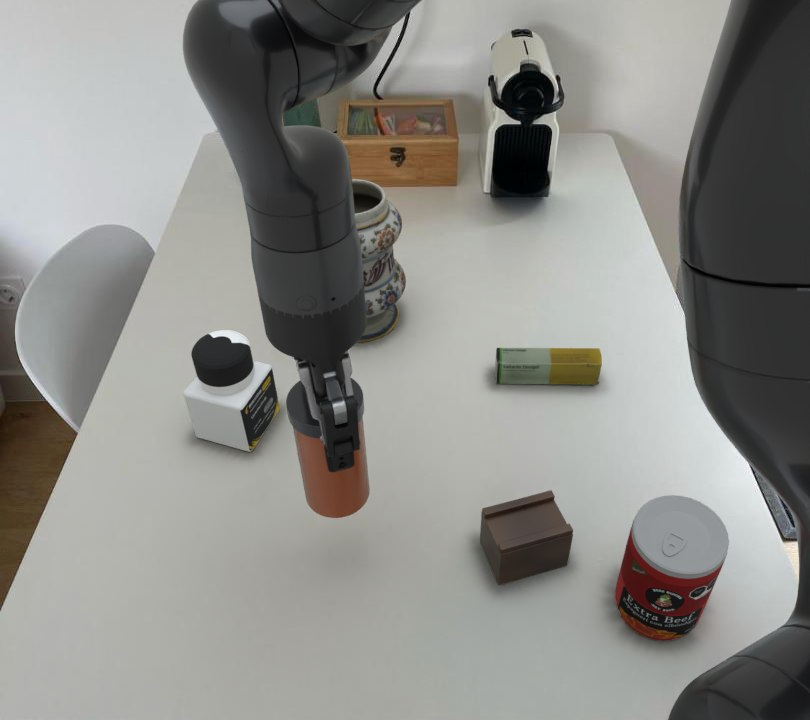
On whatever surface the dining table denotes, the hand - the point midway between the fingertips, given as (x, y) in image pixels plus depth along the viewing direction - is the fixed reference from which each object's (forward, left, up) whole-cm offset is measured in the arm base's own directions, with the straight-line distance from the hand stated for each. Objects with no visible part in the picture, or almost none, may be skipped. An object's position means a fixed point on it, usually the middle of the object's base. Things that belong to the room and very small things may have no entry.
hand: (331, 436), depth 68 cm
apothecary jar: (+35, +2, -16) cm, 39 cm away
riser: (0, -17, -16) cm, 23 cm away
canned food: (-5, -29, -16) cm, 34 cm away
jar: (-1, +3, -1) cm, 3 cm away
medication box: (+24, -21, -16) cm, 36 cm away
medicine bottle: (+16, +14, -16) cm, 27 cm away
